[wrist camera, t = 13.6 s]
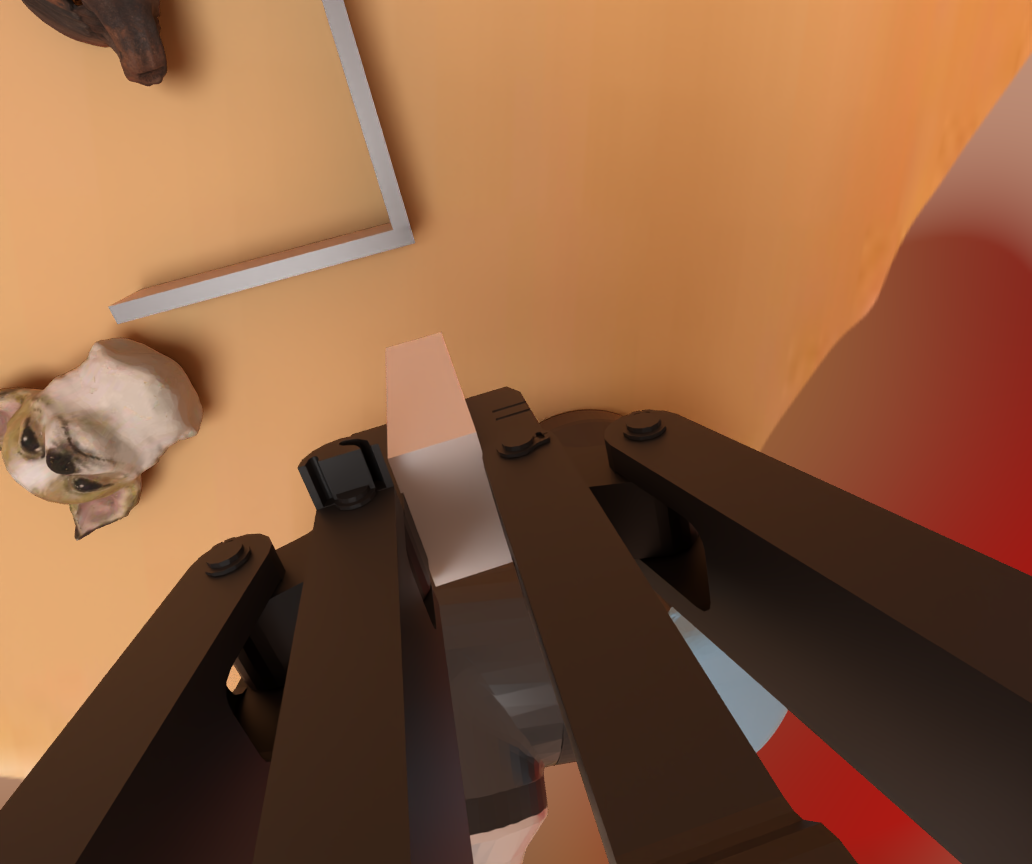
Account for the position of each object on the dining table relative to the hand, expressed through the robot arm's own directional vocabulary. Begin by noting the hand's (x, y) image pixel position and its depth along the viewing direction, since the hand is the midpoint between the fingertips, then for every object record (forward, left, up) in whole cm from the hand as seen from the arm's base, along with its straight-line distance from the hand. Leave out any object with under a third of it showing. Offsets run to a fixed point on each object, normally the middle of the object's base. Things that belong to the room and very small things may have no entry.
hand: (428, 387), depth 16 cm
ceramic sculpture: (-5, +21, -27) cm, 35 cm away
